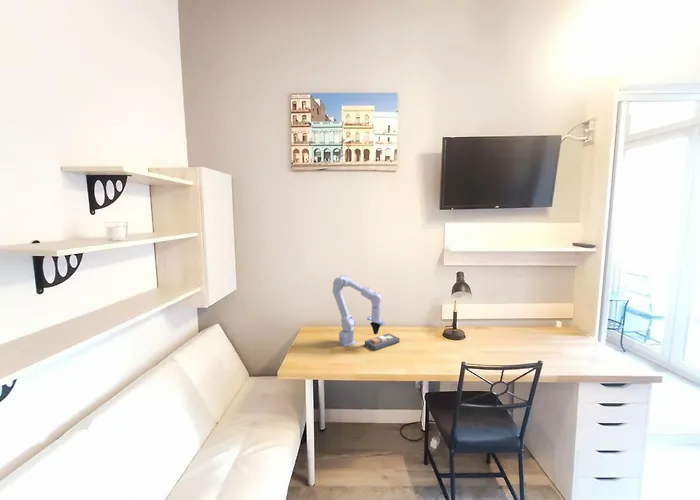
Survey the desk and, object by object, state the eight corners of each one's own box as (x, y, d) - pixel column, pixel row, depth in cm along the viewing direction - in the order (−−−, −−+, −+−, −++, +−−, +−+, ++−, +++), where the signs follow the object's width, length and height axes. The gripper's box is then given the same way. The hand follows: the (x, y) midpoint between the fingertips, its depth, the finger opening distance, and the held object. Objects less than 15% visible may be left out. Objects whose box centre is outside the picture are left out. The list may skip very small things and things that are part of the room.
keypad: (375, 351, 203) (375, 346, 202) (364, 345, 211) (364, 340, 210) (399, 342, 215) (399, 338, 215) (388, 337, 223) (388, 333, 223)
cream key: (382, 341, 210) (382, 339, 210) (378, 339, 213) (378, 337, 213) (386, 340, 212) (386, 337, 212) (382, 338, 215) (382, 335, 215)
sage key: (389, 341, 214) (389, 338, 213) (384, 339, 217) (384, 336, 217) (393, 339, 216) (393, 337, 216) (389, 337, 219) (389, 335, 219)
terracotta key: (375, 344, 206) (375, 341, 206) (371, 341, 209) (371, 339, 209) (379, 342, 209) (380, 339, 208) (375, 340, 212) (375, 337, 212)
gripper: (388, 314, 203) (388, 335, 205) (373, 308, 214) (372, 328, 216) (380, 317, 199) (379, 338, 201) (364, 310, 210) (364, 331, 212)
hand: (375, 333), depth 208 cm, fingers closed
